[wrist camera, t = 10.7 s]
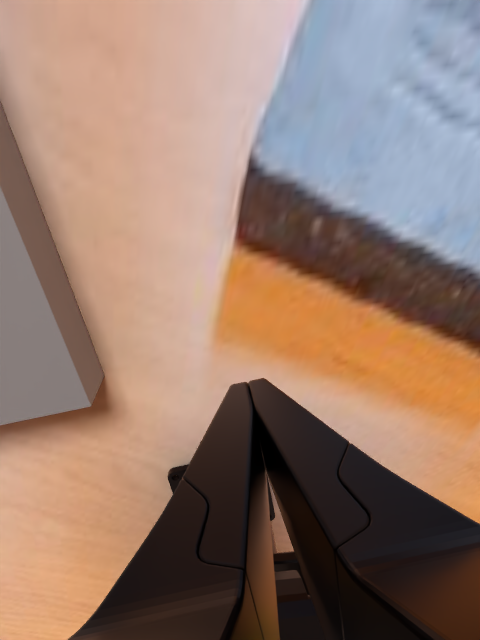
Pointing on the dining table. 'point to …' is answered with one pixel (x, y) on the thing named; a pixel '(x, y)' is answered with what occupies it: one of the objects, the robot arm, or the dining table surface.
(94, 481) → the dining table surface
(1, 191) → the console
